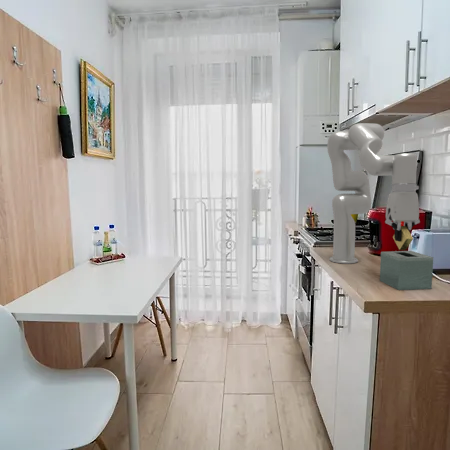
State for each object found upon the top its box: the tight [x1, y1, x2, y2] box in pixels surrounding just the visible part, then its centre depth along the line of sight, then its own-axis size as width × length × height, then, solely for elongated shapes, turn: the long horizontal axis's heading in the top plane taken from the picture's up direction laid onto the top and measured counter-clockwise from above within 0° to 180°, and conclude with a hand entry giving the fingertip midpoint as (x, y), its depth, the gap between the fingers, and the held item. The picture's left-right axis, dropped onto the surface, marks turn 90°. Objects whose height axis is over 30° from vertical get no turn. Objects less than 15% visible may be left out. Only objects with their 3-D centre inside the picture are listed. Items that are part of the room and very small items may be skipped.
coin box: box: [379, 250, 434, 291], centre depth 125 cm, size 12×12×11 cm
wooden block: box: [392, 225, 414, 251], centre depth 124 cm, size 6×2×6 cm
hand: (401, 240), depth 125 cm, fingers closed on wooden block, 2 cm apart
